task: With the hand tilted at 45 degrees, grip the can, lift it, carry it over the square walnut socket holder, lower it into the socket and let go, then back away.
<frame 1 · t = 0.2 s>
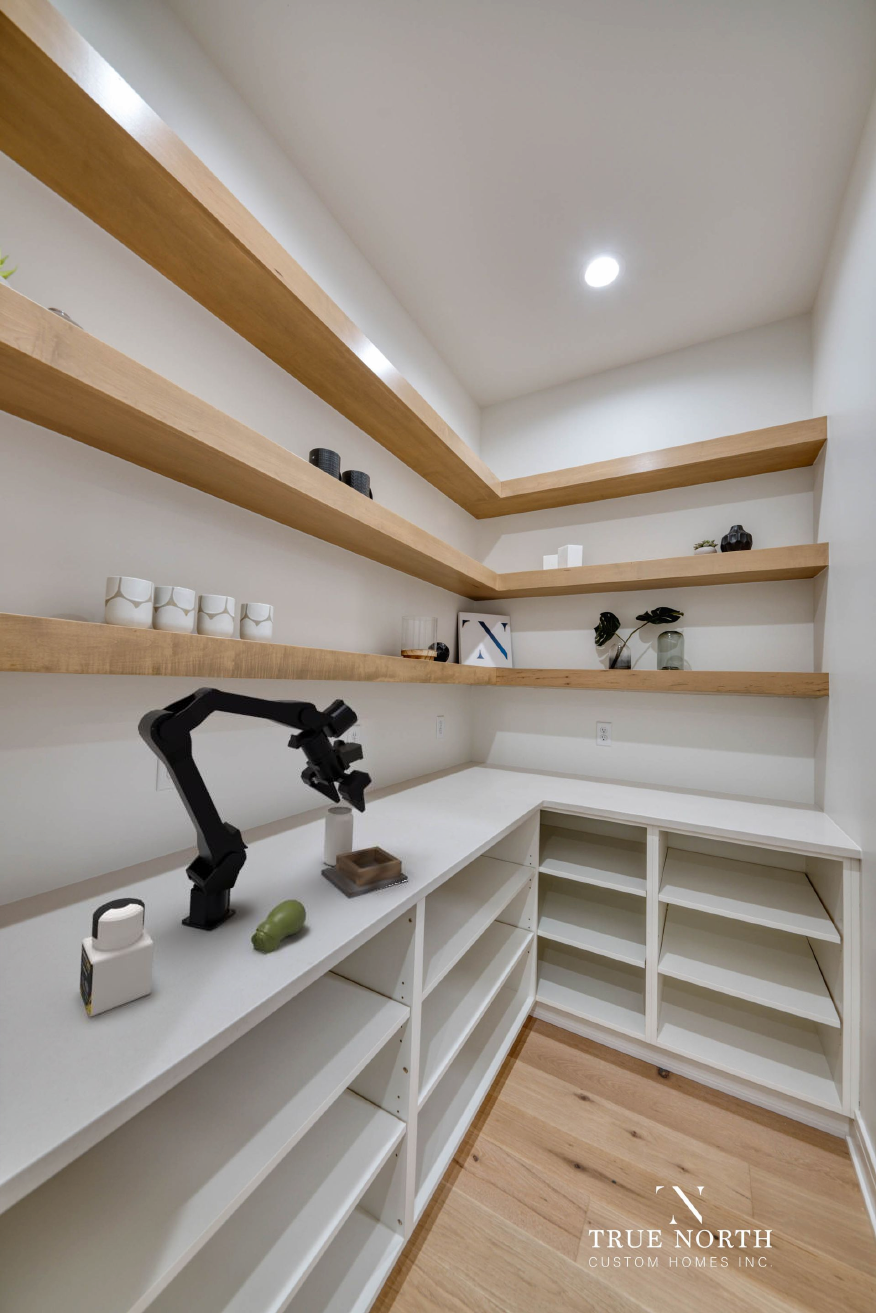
hand: (350, 806, 109), 14 cm above the table, tool tilted 35°, fingers open, 9 cm apart
socket holder: (368, 876, 107), on the table
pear: (278, 940, 82), on the table
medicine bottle: (115, 993, 67), on the table
can: (337, 862, 114), on the table
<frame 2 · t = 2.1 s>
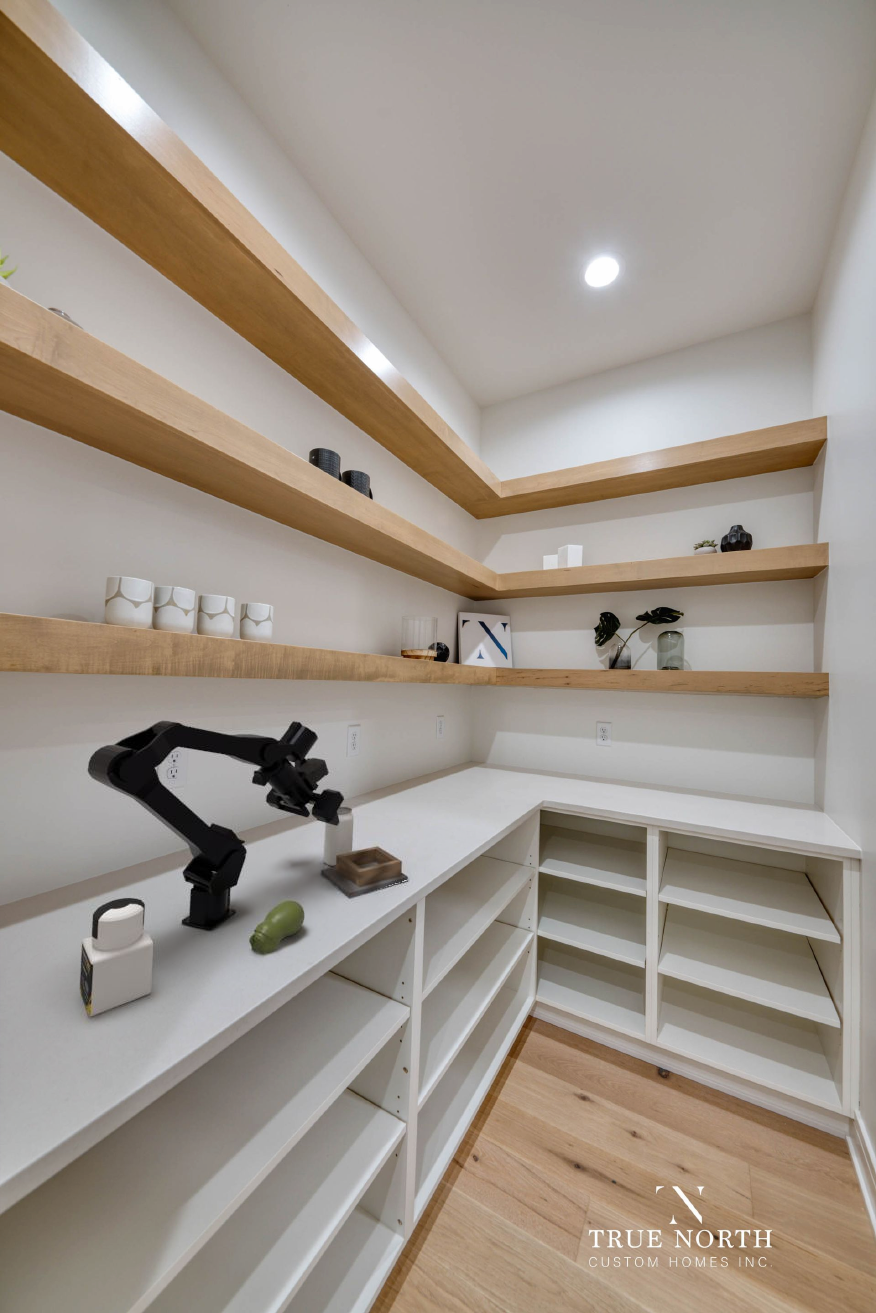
hand: (322, 819, 110), 11 cm above the table, tool tilted 45°, fingers open, 9 cm apart
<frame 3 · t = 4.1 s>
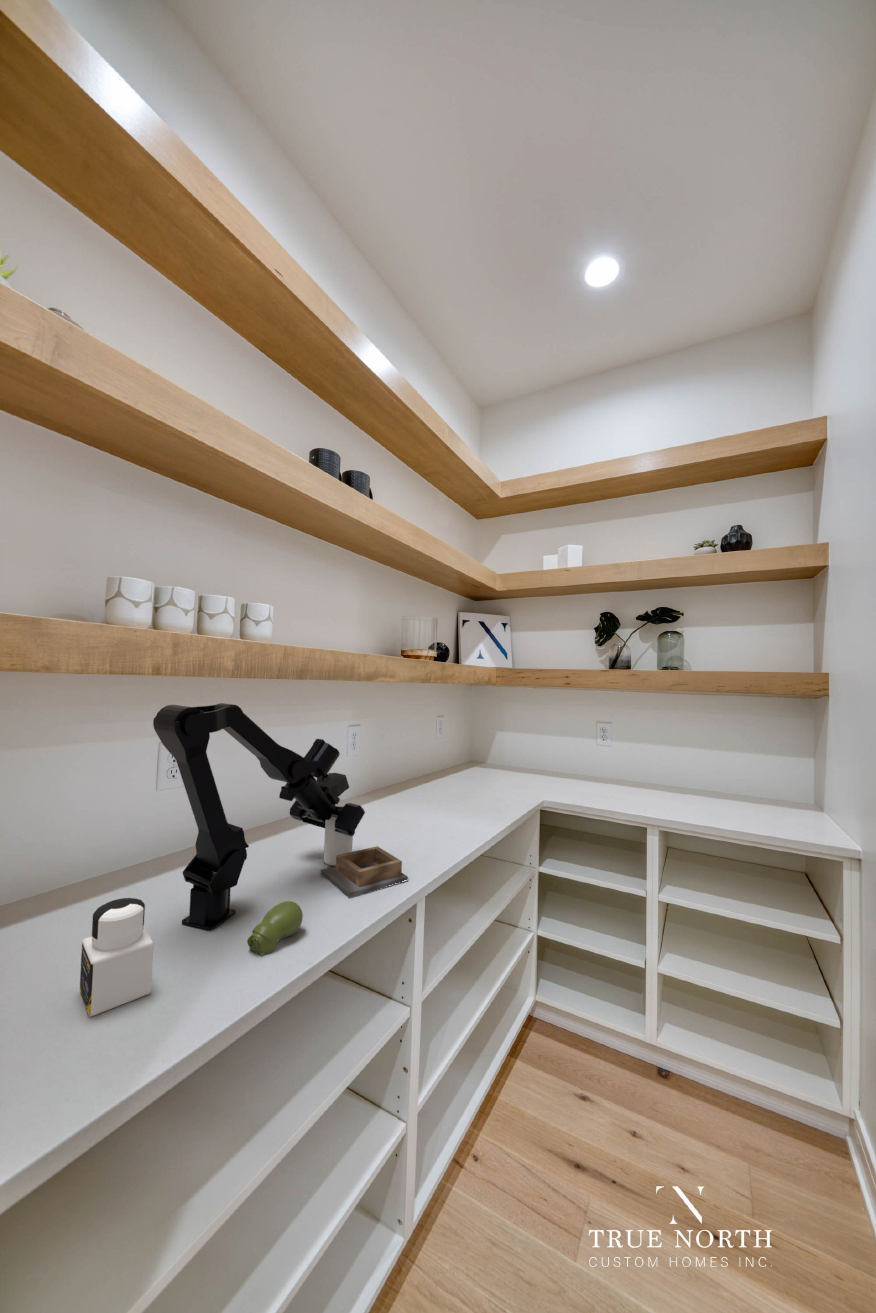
hand: (343, 831, 116), 7 cm above the table, tool tilted 45°, fingers closed on can, 6 cm apart
can: (337, 862, 114), on the table, touching gripper
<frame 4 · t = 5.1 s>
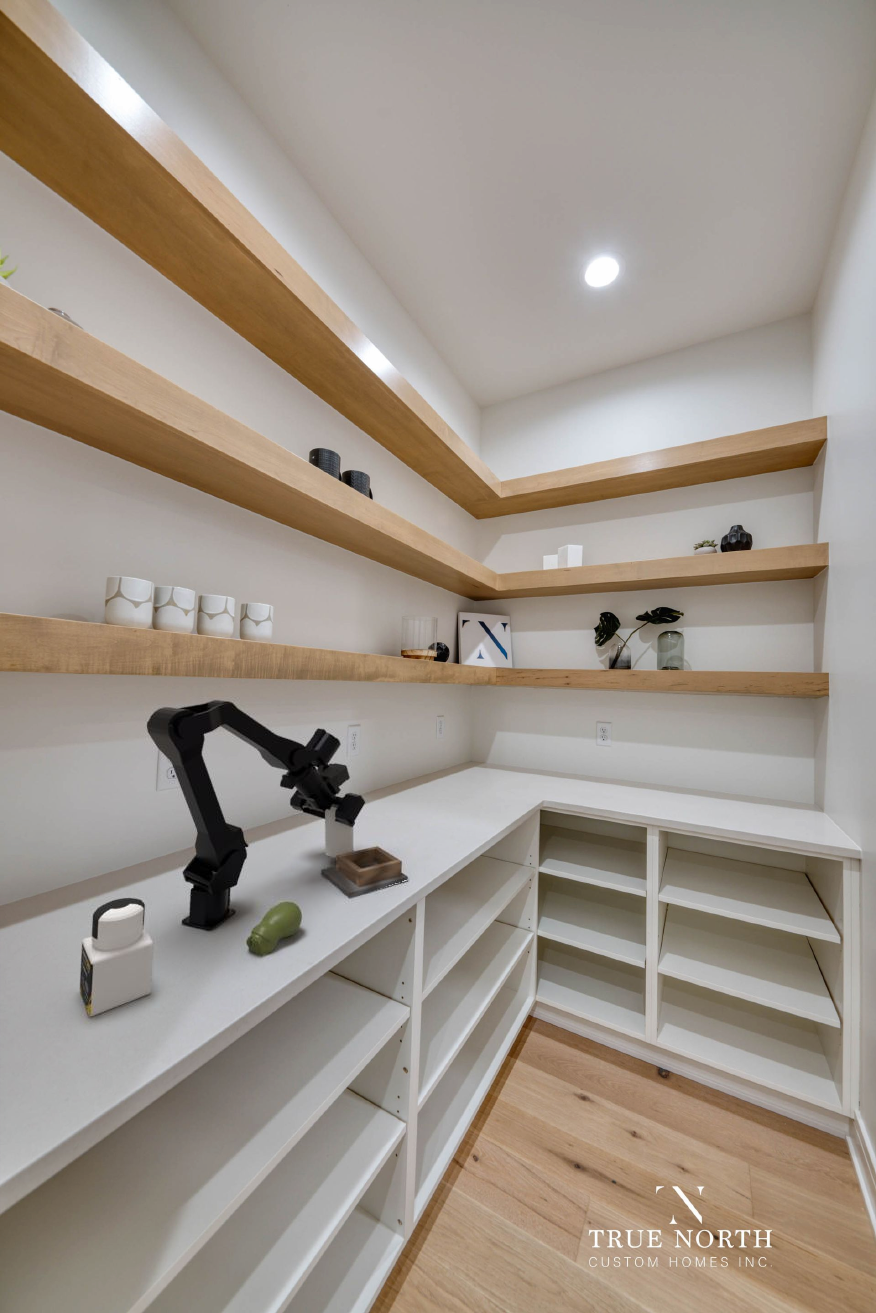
hand: (343, 822, 115), 9 cm above the table, tool tilted 45°, fingers closed on can, 6 cm apart
can: (339, 854, 114), point 2 cm above the table, touching gripper
everything else where it was.
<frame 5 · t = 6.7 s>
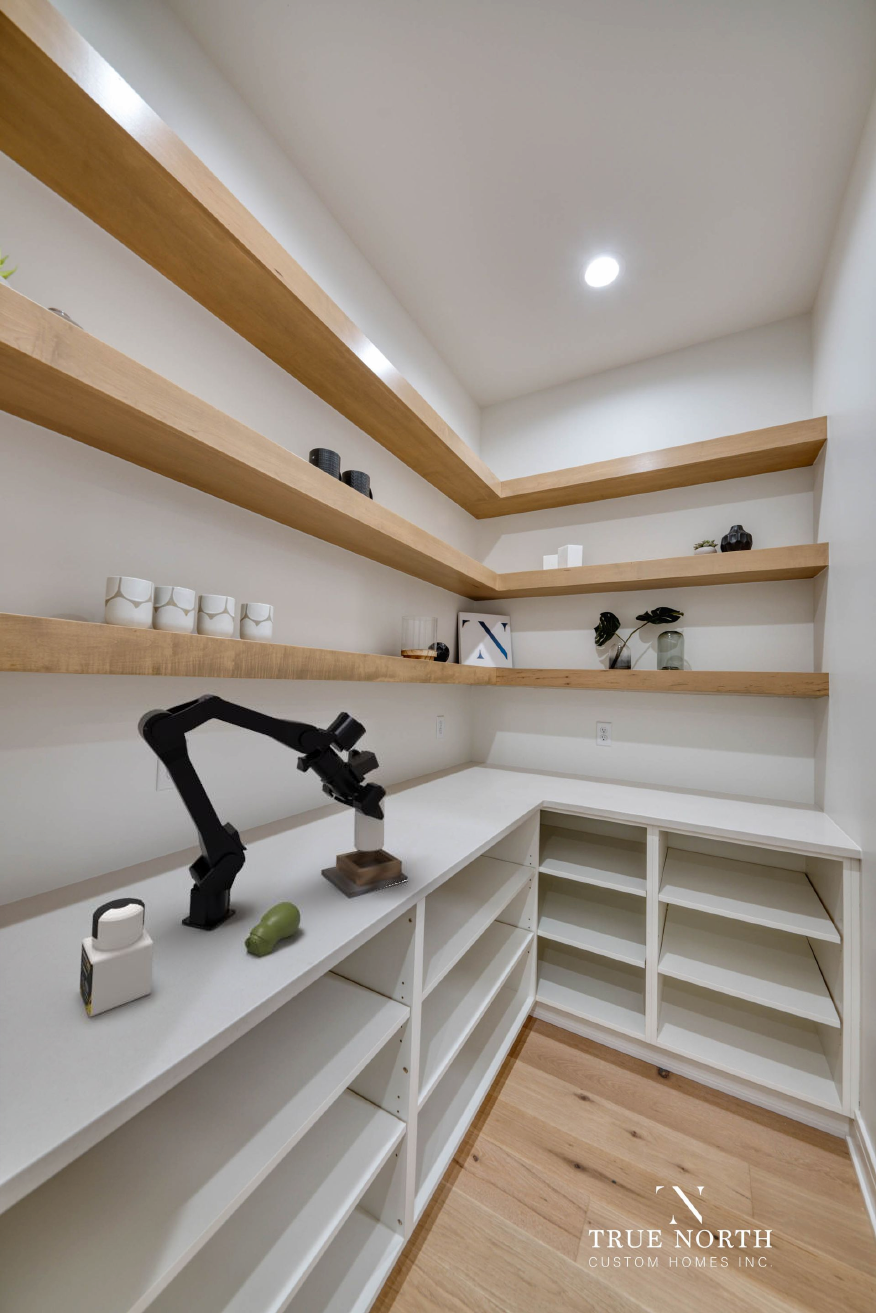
hand: (374, 814, 108), 13 cm above the table, tool tilted 45°, fingers closed on can, 6 cm apart
can: (369, 848, 107), point 6 cm above the table, touching gripper
when the fingers open (8 cm above the table, at t = 8.3 s): can stays where it is, resting on socket holder.
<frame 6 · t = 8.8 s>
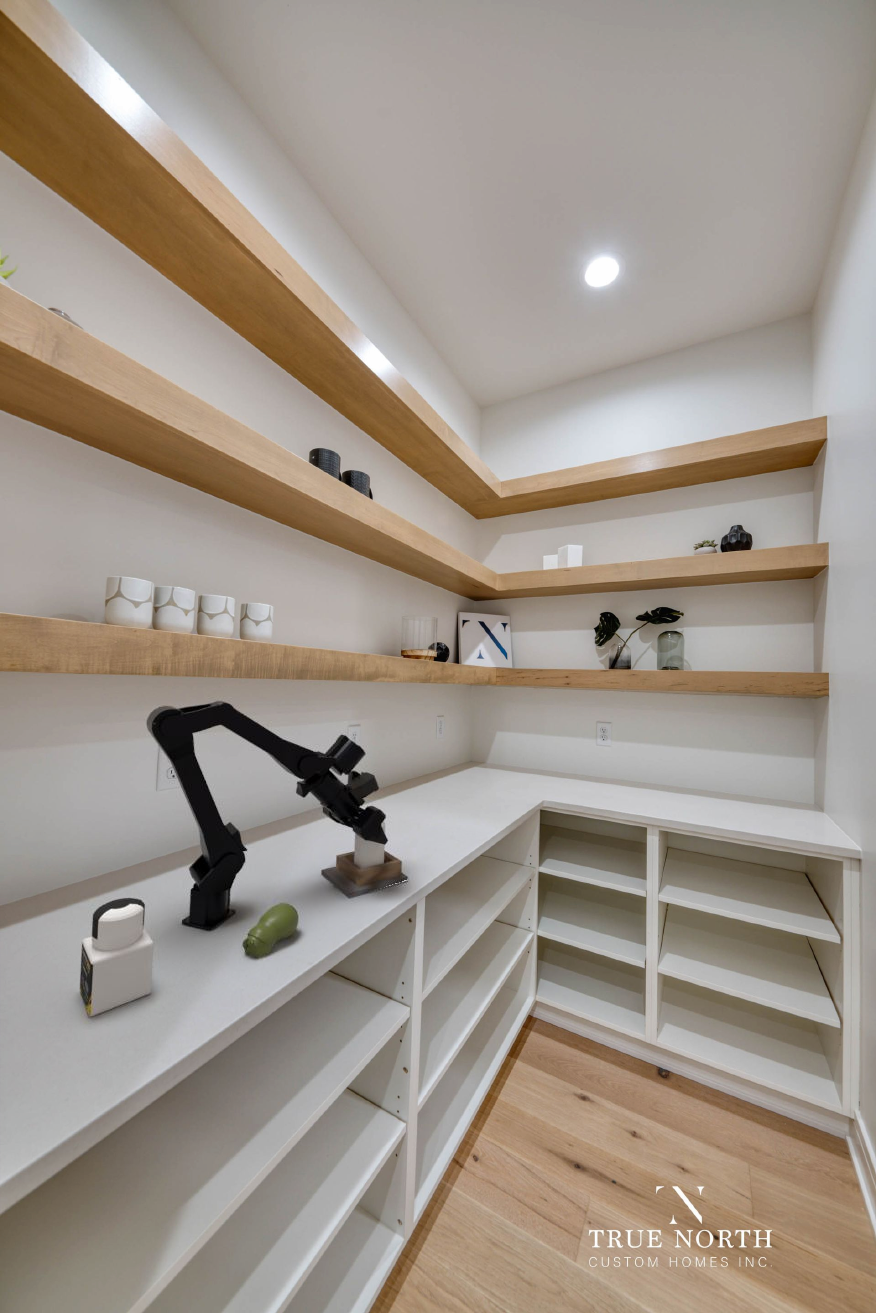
hand: (375, 836, 108), 9 cm above the table, tool tilted 45°, fingers open, 9 cm apart
can: (368, 873, 106), point 1 cm above the table, touching socket holder
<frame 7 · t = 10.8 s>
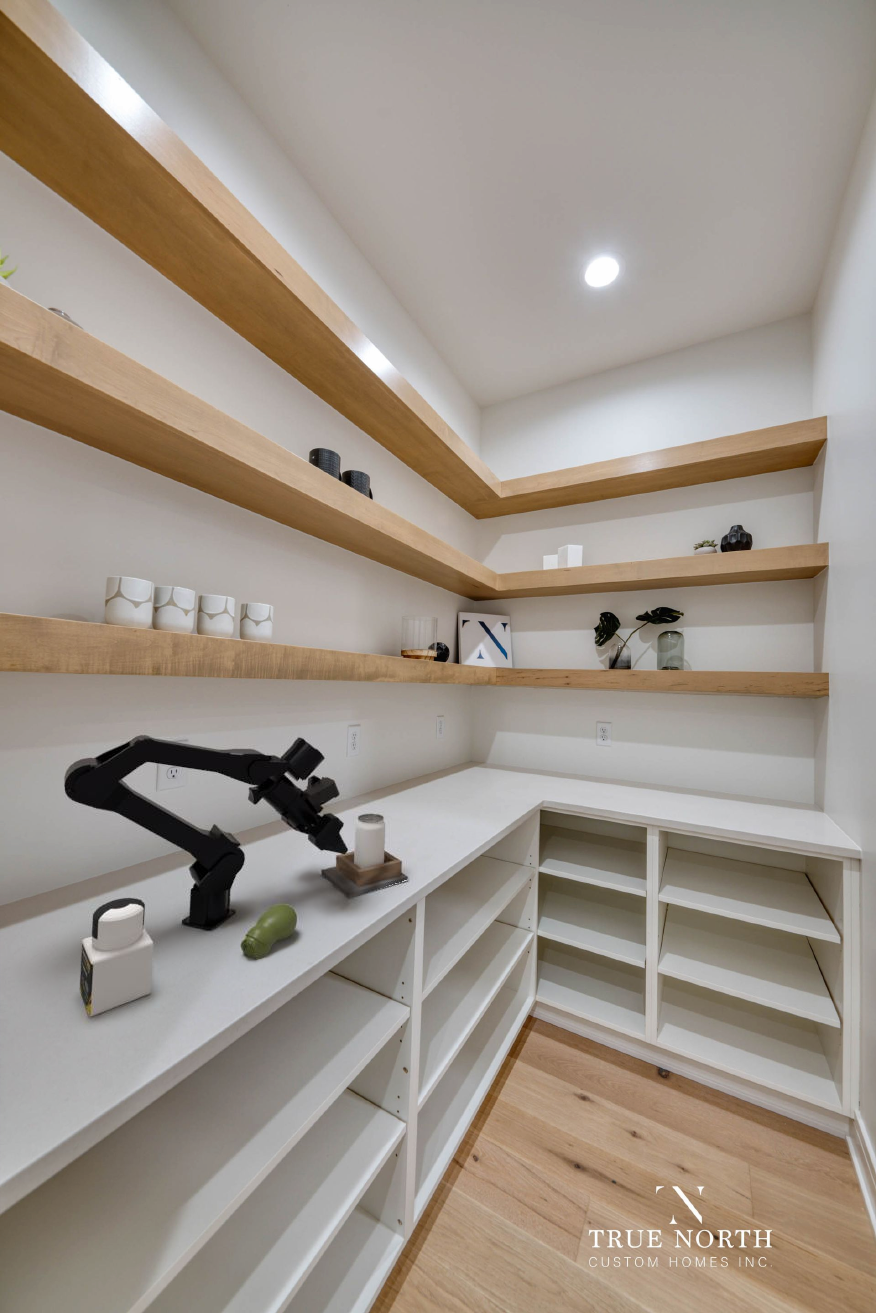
hand: (336, 844, 102), 8 cm above the table, tool tilted 45°, fingers open, 9 cm apart
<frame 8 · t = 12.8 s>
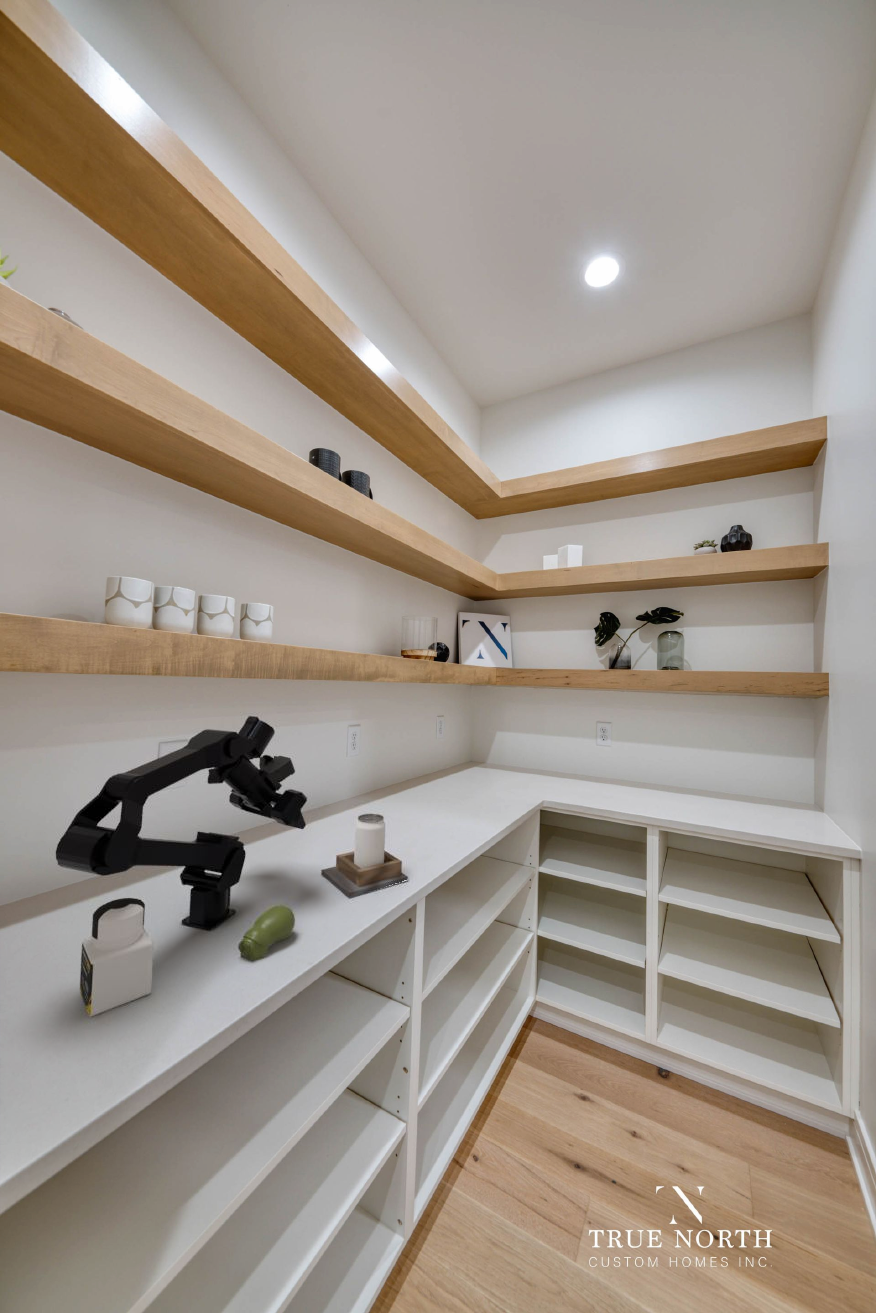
hand: (289, 822, 103), 13 cm above the table, tool tilted 45°, fingers open, 9 cm apart
at the end: can 0.4 cm off-centre on the socket holder, point 0.8 cm above the socket holder's base; can tilted 0°; the gripper is holding nothing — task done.
